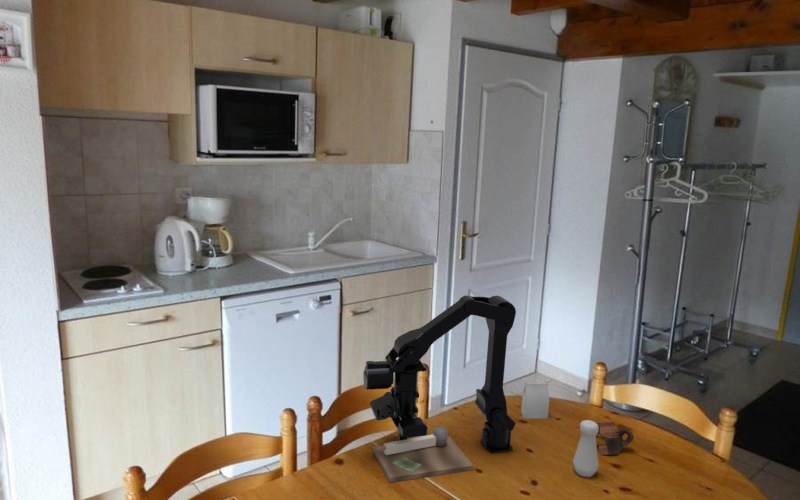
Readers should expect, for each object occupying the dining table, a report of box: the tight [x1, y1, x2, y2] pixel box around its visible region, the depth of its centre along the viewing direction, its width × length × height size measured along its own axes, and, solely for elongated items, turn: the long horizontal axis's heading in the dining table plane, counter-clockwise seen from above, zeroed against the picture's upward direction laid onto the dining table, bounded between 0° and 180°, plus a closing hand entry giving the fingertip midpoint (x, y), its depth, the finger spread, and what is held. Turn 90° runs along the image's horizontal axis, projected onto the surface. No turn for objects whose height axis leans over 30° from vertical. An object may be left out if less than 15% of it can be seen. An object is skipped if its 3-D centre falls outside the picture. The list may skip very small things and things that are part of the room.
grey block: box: [520, 382, 550, 420], centre depth 169 cm, size 4×7×10 cm, turn 95°
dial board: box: [372, 436, 474, 483], centre depth 144 cm, size 21×14×1 cm
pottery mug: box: [596, 420, 635, 456], centre depth 154 cm, size 12×10×8 cm
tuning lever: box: [377, 426, 448, 455], centre depth 146 cm, size 19×4×4 cm, turn 114°
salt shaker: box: [572, 419, 599, 478], centre depth 140 cm, size 6×6×13 cm
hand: (402, 443), depth 147 cm, fingers closed
